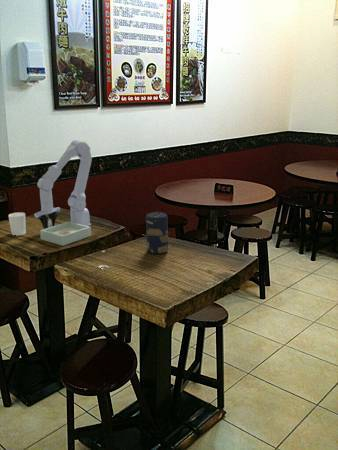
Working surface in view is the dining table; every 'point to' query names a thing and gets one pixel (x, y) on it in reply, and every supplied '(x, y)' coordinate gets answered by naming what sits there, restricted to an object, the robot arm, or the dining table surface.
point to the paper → (102, 265)
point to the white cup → (17, 223)
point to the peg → (49, 222)
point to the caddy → (65, 233)
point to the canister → (157, 232)
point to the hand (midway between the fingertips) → (49, 228)
